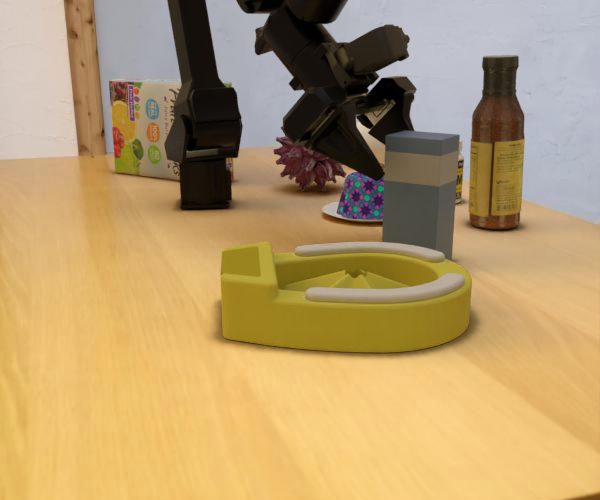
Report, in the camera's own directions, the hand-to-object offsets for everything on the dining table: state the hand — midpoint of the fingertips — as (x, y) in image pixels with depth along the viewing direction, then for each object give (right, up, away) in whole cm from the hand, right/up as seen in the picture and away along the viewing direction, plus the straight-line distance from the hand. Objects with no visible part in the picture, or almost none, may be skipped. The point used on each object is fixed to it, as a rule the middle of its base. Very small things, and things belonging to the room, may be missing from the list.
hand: (402, 171), depth 81 cm
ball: (+1, +9, +55) cm, 56 cm away
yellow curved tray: (-7, -15, -13) cm, 21 cm away
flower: (-8, +3, +37) cm, 38 cm away
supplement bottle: (+10, 0, +30) cm, 31 cm away
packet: (+2, -9, +2) cm, 9 cm away
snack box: (-31, +7, +47) cm, 57 cm away
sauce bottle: (+13, -4, +17) cm, 22 cm away
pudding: (-2, -2, +22) cm, 22 cm away
